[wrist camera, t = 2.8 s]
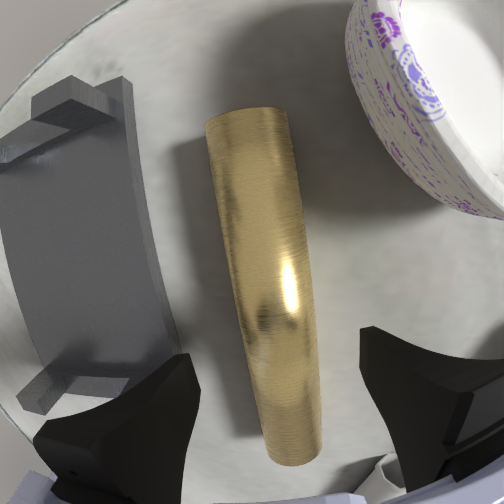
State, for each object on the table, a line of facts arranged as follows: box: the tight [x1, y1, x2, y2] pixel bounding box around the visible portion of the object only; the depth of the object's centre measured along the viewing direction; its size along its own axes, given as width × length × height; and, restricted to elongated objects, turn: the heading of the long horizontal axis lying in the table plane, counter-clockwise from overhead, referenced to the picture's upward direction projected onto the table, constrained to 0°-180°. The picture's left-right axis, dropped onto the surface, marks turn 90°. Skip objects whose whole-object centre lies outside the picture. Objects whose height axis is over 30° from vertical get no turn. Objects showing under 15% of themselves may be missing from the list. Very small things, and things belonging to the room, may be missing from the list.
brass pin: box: [204, 107, 322, 466], centre depth 15 cm, size 21×4×4 cm, turn 9°
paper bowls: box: [345, 0, 504, 220], centre depth 10 cm, size 15×15×8 cm
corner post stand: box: [0, 75, 183, 416], centre depth 14 cm, size 12×20×6 cm, turn 9°
